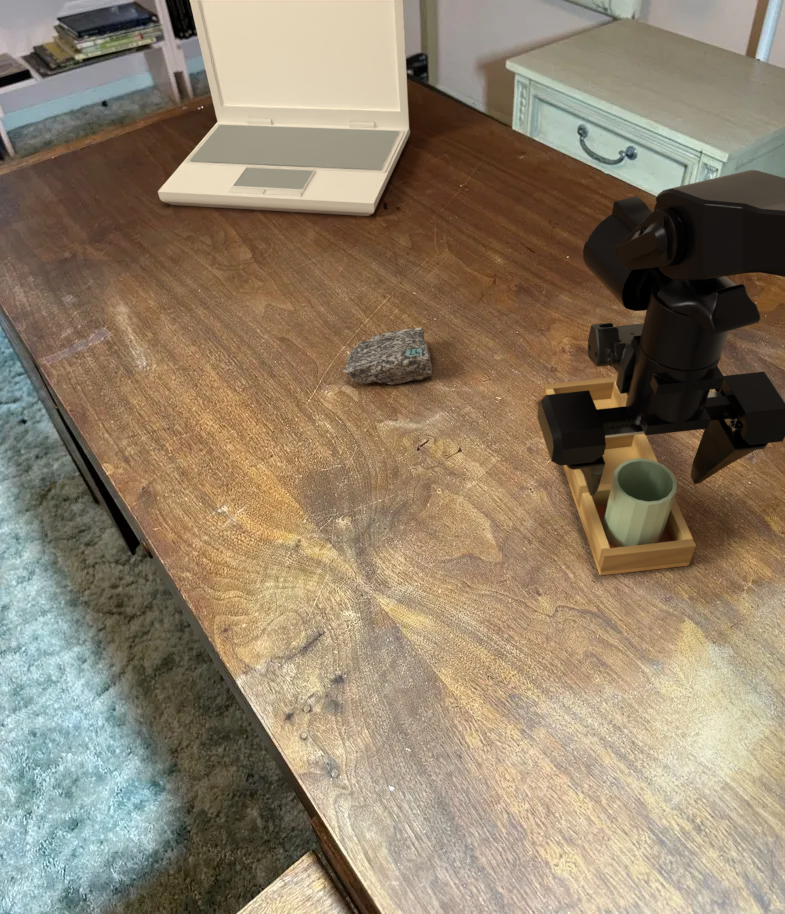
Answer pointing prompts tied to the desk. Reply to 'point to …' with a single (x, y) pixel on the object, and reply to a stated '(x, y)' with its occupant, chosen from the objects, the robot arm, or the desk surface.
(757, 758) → the desk surface
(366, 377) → the rock
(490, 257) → the desk surface
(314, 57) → the laptop
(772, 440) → the robot arm
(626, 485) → the cup
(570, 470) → the rack
